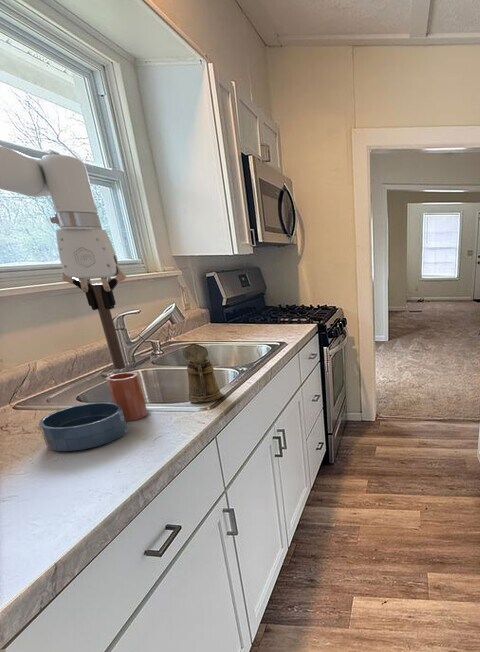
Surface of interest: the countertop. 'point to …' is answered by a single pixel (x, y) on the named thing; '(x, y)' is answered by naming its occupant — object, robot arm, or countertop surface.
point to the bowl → (83, 426)
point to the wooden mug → (200, 375)
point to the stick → (108, 327)
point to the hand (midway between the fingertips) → (103, 308)
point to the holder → (127, 394)
